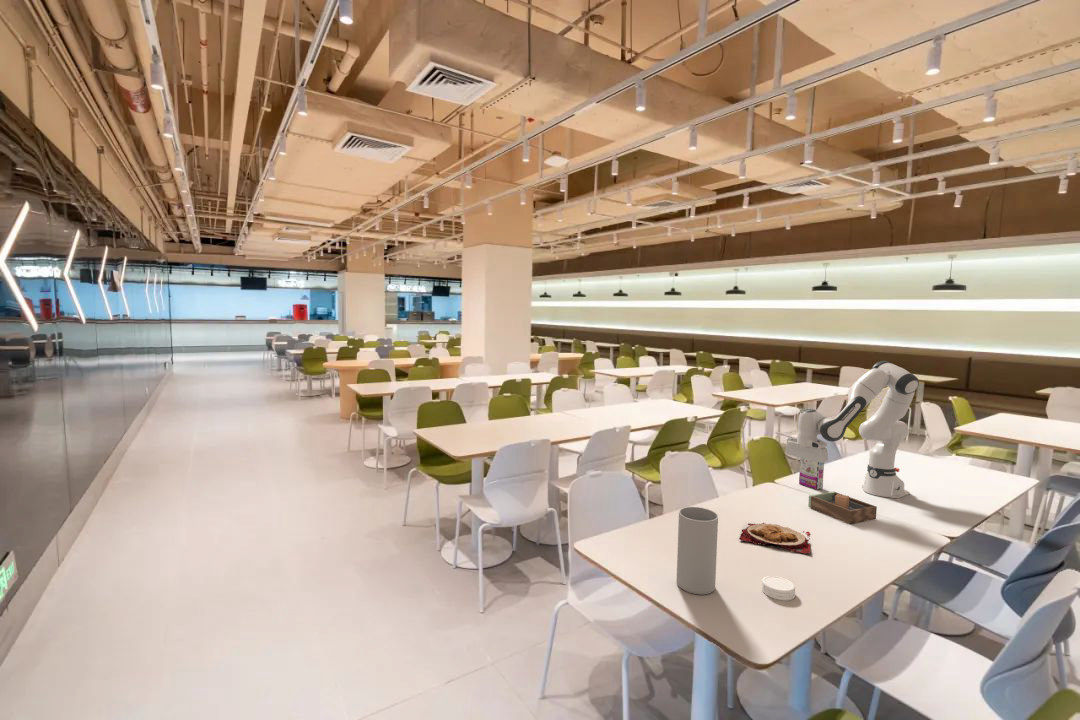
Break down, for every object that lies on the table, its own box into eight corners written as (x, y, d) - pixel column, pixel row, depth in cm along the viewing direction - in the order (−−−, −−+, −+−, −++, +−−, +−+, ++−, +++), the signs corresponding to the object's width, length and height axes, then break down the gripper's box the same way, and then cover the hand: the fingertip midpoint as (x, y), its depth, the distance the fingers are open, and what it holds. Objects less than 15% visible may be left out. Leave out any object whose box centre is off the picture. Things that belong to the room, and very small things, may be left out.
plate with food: (810, 558, 190) (811, 549, 190) (738, 541, 202) (739, 533, 202) (809, 535, 211) (810, 527, 211) (744, 522, 223) (745, 514, 223)
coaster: (785, 585, 169) (785, 575, 169) (801, 601, 159) (801, 591, 159) (756, 585, 169) (756, 575, 169) (770, 601, 159) (770, 591, 159)
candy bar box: (823, 489, 267) (824, 459, 266) (817, 490, 265) (818, 460, 264) (804, 482, 278) (806, 454, 276) (798, 483, 275) (799, 454, 274)
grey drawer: (833, 502, 246) (833, 491, 246) (872, 517, 228) (872, 505, 228) (808, 506, 240) (808, 495, 240) (846, 522, 222) (847, 509, 221)
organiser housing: (835, 504, 245) (836, 492, 244) (875, 519, 226) (876, 506, 226) (810, 508, 239) (811, 496, 238) (850, 524, 220) (850, 511, 220)
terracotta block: (848, 508, 233) (849, 496, 233) (845, 511, 230) (846, 498, 229) (837, 505, 236) (838, 493, 236) (834, 508, 233) (835, 495, 233)
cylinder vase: (721, 585, 168) (724, 513, 166) (705, 600, 159) (708, 524, 157) (686, 572, 176) (688, 504, 174) (669, 586, 167) (672, 514, 165)
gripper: (783, 437, 261) (782, 463, 262) (823, 446, 244) (822, 473, 245) (790, 435, 264) (789, 461, 265) (830, 444, 247) (828, 471, 249)
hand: (805, 467), depth 255 cm, fingers closed
